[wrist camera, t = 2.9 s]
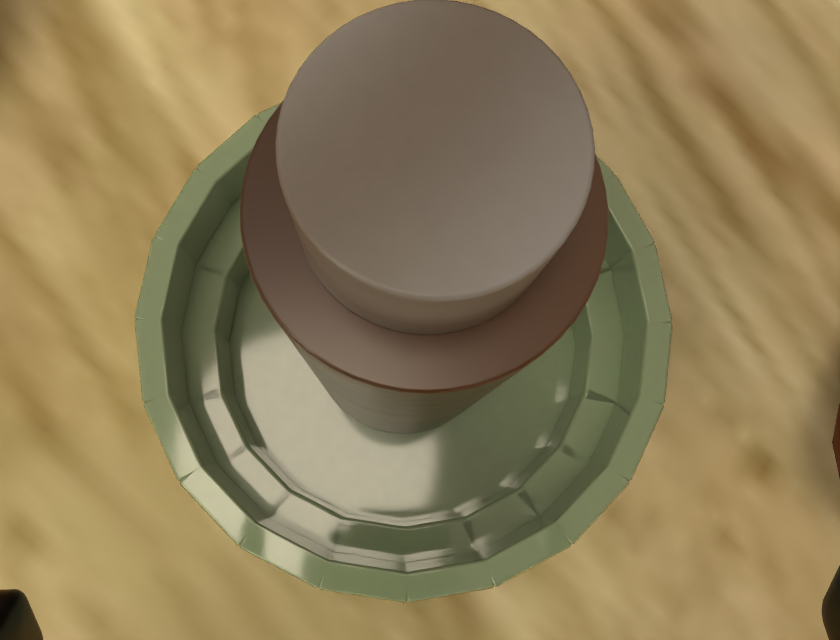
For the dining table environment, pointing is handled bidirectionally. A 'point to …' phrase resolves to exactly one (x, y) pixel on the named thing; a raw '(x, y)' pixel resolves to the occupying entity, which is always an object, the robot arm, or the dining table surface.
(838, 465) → the potato
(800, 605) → the dining table surface
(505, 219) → the pepper mill
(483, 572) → the green round dish
